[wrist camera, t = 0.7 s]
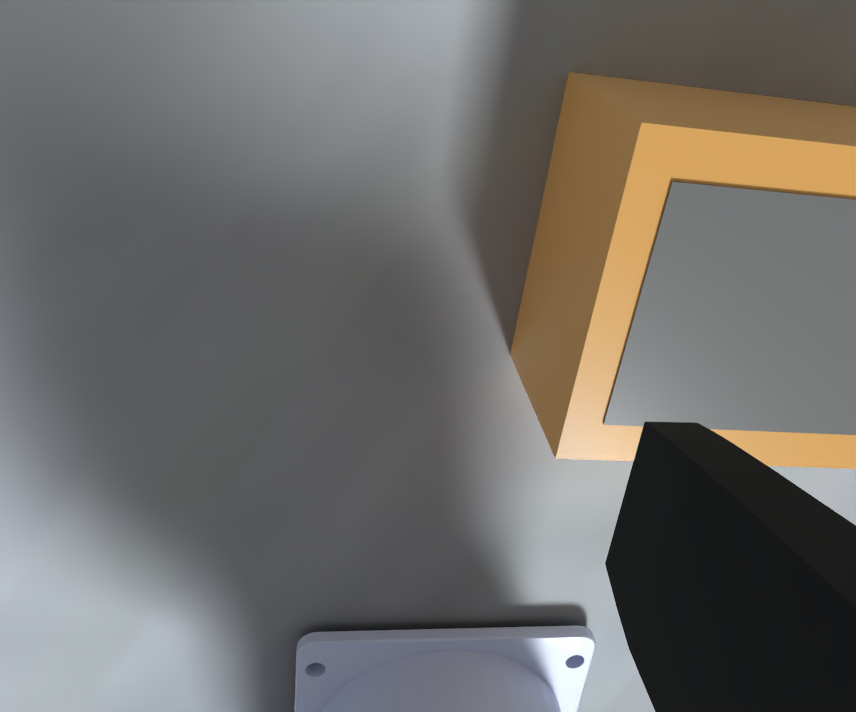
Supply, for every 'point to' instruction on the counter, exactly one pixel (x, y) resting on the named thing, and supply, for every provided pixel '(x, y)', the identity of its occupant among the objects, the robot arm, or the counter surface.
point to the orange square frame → (694, 273)
